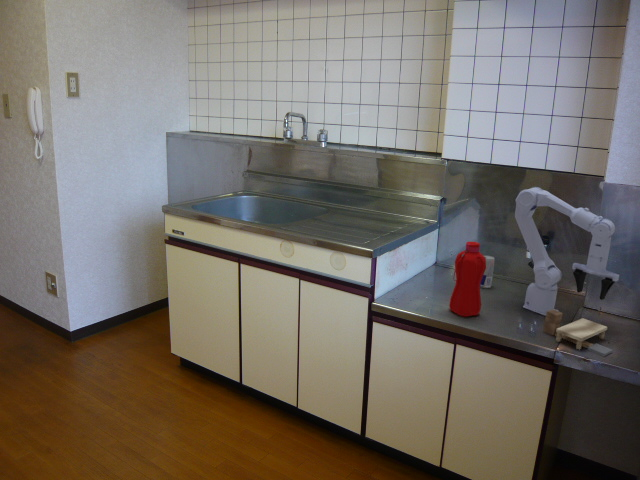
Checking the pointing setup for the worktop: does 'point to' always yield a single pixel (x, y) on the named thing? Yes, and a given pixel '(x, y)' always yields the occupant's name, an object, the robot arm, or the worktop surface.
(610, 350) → the coaster
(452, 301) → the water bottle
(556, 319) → the wooden mallet
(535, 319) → the worktop surface
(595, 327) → the small wooden table
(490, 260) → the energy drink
